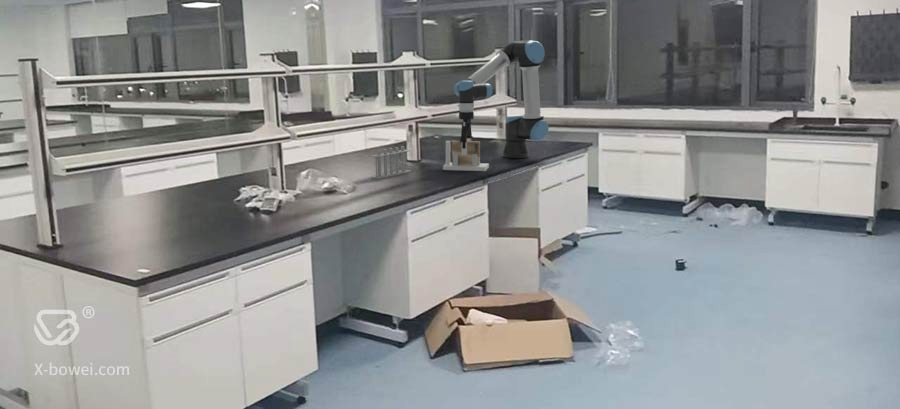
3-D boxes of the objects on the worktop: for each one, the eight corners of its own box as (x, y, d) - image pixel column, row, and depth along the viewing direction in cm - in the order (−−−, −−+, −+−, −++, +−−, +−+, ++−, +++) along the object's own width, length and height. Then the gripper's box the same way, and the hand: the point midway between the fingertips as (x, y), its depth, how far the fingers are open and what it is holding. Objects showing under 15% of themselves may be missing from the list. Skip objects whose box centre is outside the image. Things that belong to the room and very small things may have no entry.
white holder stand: (447, 166, 398) (447, 139, 395) (488, 167, 395) (489, 140, 392) (442, 169, 387) (442, 142, 384) (485, 171, 383) (485, 143, 380)
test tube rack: (378, 179, 362) (377, 151, 359) (371, 178, 364) (370, 151, 362) (410, 171, 382) (410, 145, 379) (404, 171, 384) (403, 145, 381)
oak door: (453, 163, 393) (453, 140, 390) (479, 164, 390) (480, 141, 388) (451, 165, 389) (451, 141, 387) (478, 165, 387) (479, 142, 384)
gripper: (463, 108, 397) (463, 149, 402) (454, 113, 373) (454, 156, 378) (477, 109, 396) (477, 149, 400) (469, 113, 372) (469, 156, 376)
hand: (466, 152), depth 389 cm, fingers open, 13 cm apart
